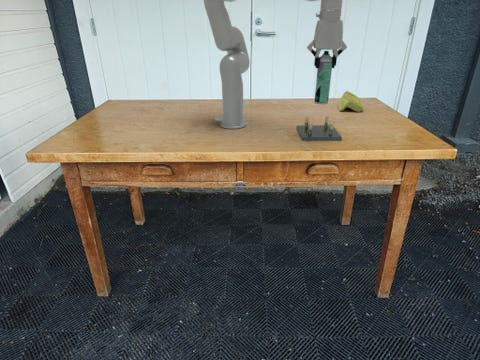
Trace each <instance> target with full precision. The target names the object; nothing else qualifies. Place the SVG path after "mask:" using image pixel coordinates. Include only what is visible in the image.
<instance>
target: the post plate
mask: <svg viewBox="0 0 480 360" xmlns="http://www.w3.org/2000/svg"><path fill="white" fill-rule="evenodd" d="M329 117H330V116H329V115H326V116H325V118H324V125H323V124H322V125H321V124H317V125H316V124H313V122H312V121H310V117H309V116H308V115H307V116H305V122H304V123H305V124H304V125H302V124H301V125H296V131H297V132H298V134H299V137H300V138H301V139H300V140H301V141H303V142H306V141H307V142H308V141H309V142H310V141H313V142H314V141H316V142H317V141H318V142H319V141H320V142H321V141H324V142H325V141H326V142H327V141H329V142H330V141H335V142H336V141H342V138H343V137H342V135H341V134H340V133H339V132H338V130H337V129H336V128H335V127H334V124H335V123H334V121H330V122H329ZM309 121H310V122H309Z"/></svg>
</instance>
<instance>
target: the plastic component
mask: <svg viewBox="0 0 480 360" xmlns="http://www.w3.org/2000/svg"><path fill="white" fill-rule="evenodd" d="M337 107H338V112H343V111H344V110H345V109H346V108H349V109H350V110H353V111H355V112H356V113H360V112H361V111H362V110H363V109H364V105H363V102H362V101H361V98H359V97H358V95H355V94H354V93H352V92H350V91H348V90H346V91H344V93H343V94H342V96H341V98H340V100H339V101H338V106H337Z"/></svg>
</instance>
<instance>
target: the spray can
mask: <svg viewBox="0 0 480 360" xmlns="http://www.w3.org/2000/svg"><path fill="white" fill-rule="evenodd" d="M329 52H330V51H329V50H323V54H322V55H320V56H319V58H320V60H319V68H317V72H316V82H315V83H316V84H315V91H314V92H315V94H314V104H316V105H328V104H329V96H330V88H331V80H332V71H333V70H332V69H333V68H332V63H333V58H332V57H333V56H331V54H330V53H329Z"/></svg>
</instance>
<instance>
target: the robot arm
mask: <svg viewBox="0 0 480 360" xmlns="http://www.w3.org/2000/svg"><path fill="white" fill-rule="evenodd" d="M235 1H237V0H203V4H204V9H205V12H206V16H207V18H208V22H209V26H210V28H211V29H210V30H211V32H212V36H213V39H214V40H213V41H214V44H215V46H216V48H217V49H218V50H219V51H222V52H227V54H226V55H224V56H223V57H222V58H221V59H220V63H219V74H220V75H219V76H220V79H221V94H222V95H221V96H222V115H220V116H213V121H215V122H218V123H219V122H220V123H219V126H220V127H221V128H225V129H227V130H228V129H231V130H236V129H237V130H238V129H243V128H245V127H246V126H247V124H248V122H247V121H246V120H244V83H243V76H242V75H243V74H244V73H246V72H247V71H248V69H249V68H250V64H251V63H250V57H249V53H248V48H247V44H246V41H245V38H244V35H243V32H242V31H241V30H240V29H239V28H238V27H236V26H233V24H232V23H231V22H232V21H231V19H230V16H229V12H228V9H227V8H226V5H225V2H231V3H232V2H235ZM305 1H308V2H318V0H305ZM342 8H343V0H320V7H319V9H320V10H319V12H316V13H315V18H318V20H317V22H316V26H315V30H314V36H313V40H312V41H311V42H310V43H309V44H308V45H307V47H306V50H308V51H309V52H310V53H311V54H312V55H313V56H314V62H313V63H314V65H313V66H314V68H315V69H318V68H319V60H320V58H319V57H320V54H321V51H329V50H331V51H332V54H333V55H332V56H331V57H332V58H333V63H332V69H335V67H336V66H337V60H338V57H339V55H341V54H342V53H343V52H344V51H345V50H346V49H347V48H348V46H347V45H346V43H345V42H344V39H343V38H344V37H343V33H344V23H343V22H344V21H343V19H342V20H341V16H342ZM314 49H315V50H314Z"/></svg>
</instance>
